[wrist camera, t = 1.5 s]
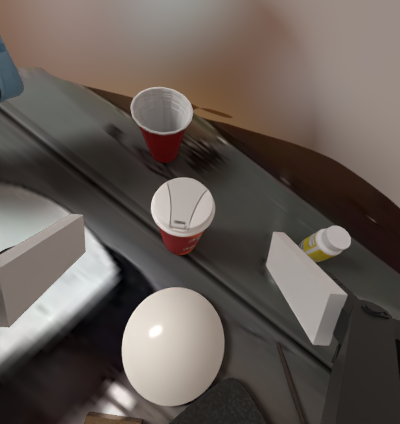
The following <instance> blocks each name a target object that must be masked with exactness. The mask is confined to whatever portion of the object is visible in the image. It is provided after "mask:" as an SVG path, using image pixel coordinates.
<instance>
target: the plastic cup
mask: <svg viewBox="0 0 400 424" xmlns="http://www.w3.org/2000/svg"><path fill="white" fill-rule="evenodd" d="M130 108H131V113H132V117H133V119H134V120H135V121H136V123H137V124H138V125H139V127H140V129H141V131H142V134H143V136H144V139H145V141H146V144H147V146H148V148H149V150H150V153H151V155H152V157H153V158H154V159H155V160H156V161H158V162H161V163H168V162H171V161H173V160H174V159H175V158H176V156H177V154H178V150H179V148H180V145H181V141H182V138H183V134H184V131H185V129H186V127H187V126H188V124H189V123H190V122H191V120H192V115H193V109H192V106H191V103H190V102H189V100H188V99H187V98H186V97H185V96H184V95H183V94H181V93H179V92H177V91H175V90H174V89H169V88H164V87H154V88H148V89H146V90H143V91H141V92H140V93H139V94H137V95H136V96H135V97H134V98H133V101H132V104H131V107H130Z"/></svg>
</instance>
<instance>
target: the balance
mask: <svg viewBox="0 0 400 424" xmlns="http://www.w3.org/2000/svg"><path fill="white" fill-rule="evenodd" d="M141 423H142V419H138V418H131V417H124V416H117V415H109V414H102V413H95V412H89V413H88V414H87V415H86V418H85V422H84V424H141Z"/></svg>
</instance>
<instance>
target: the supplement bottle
mask: <svg viewBox="0 0 400 424" xmlns="http://www.w3.org/2000/svg"><path fill="white" fill-rule="evenodd" d="M350 244H351V238H350V235H349V234H348V232H347V231H346V230H345V229H343V228H342V227H339V226H331V227H329V228H327V229H321V230H319V231H318V232H316V233H314V234H313V235H311V236H309V237H308V238H306V239H304V240H303V241H301V243H300V244H299V248H300V249H301V250H302V251H303V252H304V253H305V254H306V255H307V256H309V257H310V258H311V259H312V260H313V261H314V262H315V263H318V262H320V261H323V260H326V259H328V258H331V257H334V256H336V255H338V254H340V253H341V252H342V250H344V249H347V248H348V247H349V246H350Z"/></svg>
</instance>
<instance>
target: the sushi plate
mask: <svg viewBox="0 0 400 424" xmlns="http://www.w3.org/2000/svg"><path fill="white" fill-rule="evenodd" d="M276 344H277V348H278V351H279V355H280V358H281V361H282V365H283V368H284V371H285V375H286V378H287V381H288V385H289V388H290V391H291V394H292V397H293V400H294V403H295V406H296V409H297V412H298V415H299V418H300V421H301V424H305V421H304V417H303V414H302V411H301V408H300V405H299V402H298V398H297V395H296V392H295V389H294V386H293V383H292V380H291V377H290V374H289V371H288V367H287V364H286V361H285V358H284V355H283V352H282V349H281V346H280V343H279V342H277V343H276ZM169 424H267V423H266V421H265V419H264V417H263V416H262V414H261V412H260V410H259V409H258V407H257V405H256V404H255V402H254V400H253V399H252V397H251V396H250V394H249V393H248V391H247V390H246V389H245V387H244V386H243V385H242V384H241V383H240V382H239V381H238V380H236V379H234V378H228V379H225V380H223V381H221V382H219V383H217V384H216V385H214V386H213V387H212V388H210V389H209V390H208V391H207V392H205V393H204V394H203V395H202V396H200V397H199V398H198V399H197V400H196V401H194V402H193V403H192V404H191V405H190V406H189V407H187V408H186V409H185V410H184V411H183V412H182V413H180V414H179V415H178V416H177V417H176V418H175V419H174V420H173V421H172V422H171V423H169Z"/></svg>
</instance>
